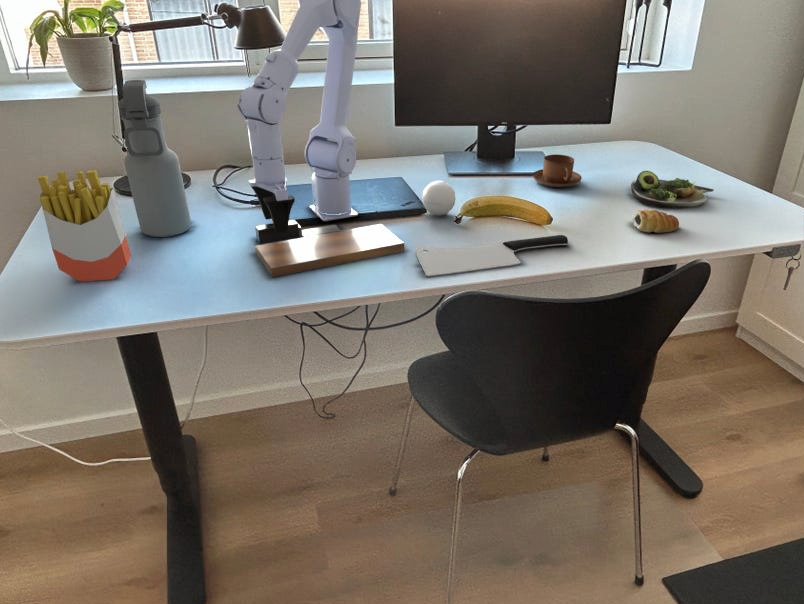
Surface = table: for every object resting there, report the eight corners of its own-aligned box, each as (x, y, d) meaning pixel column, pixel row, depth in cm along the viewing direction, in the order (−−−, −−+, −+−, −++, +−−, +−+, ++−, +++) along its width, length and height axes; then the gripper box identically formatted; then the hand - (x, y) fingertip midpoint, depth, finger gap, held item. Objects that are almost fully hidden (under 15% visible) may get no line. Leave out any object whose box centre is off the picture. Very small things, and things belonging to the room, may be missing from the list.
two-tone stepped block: (256, 239, 131) (254, 226, 130) (335, 225, 138) (334, 213, 137) (261, 245, 129) (259, 232, 127) (341, 231, 136) (340, 218, 134)
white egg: (447, 206, 149) (448, 174, 145) (460, 218, 143) (461, 184, 139) (405, 211, 146) (405, 179, 142) (417, 223, 140) (417, 190, 136)
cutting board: (256, 254, 125) (254, 245, 124) (381, 231, 136) (381, 223, 135) (272, 277, 117) (271, 268, 116) (404, 251, 128) (404, 242, 127)
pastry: (671, 222, 144) (675, 205, 142) (683, 234, 138) (687, 217, 136) (629, 222, 143) (632, 205, 141) (639, 235, 138) (643, 217, 136)
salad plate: (703, 186, 165) (707, 167, 163) (723, 211, 150) (728, 191, 148) (625, 182, 166) (628, 164, 164) (638, 207, 151) (641, 188, 149)
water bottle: (191, 236, 132) (161, 88, 116) (139, 241, 129) (100, 90, 114) (192, 218, 140) (164, 77, 124) (143, 222, 137) (108, 79, 122)
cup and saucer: (590, 186, 163) (594, 161, 160) (554, 194, 158) (557, 168, 154) (558, 173, 172) (560, 149, 168) (522, 180, 166) (524, 156, 162)
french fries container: (129, 279, 116) (102, 177, 106) (62, 283, 113) (28, 180, 104) (134, 267, 119) (108, 169, 109) (69, 272, 117) (37, 172, 107)
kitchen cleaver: (426, 272, 118) (412, 244, 125) (426, 280, 119) (412, 252, 126) (582, 254, 126) (560, 229, 134) (581, 262, 127) (559, 237, 135)
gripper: (236, 148, 127) (246, 215, 134) (256, 169, 116) (266, 241, 124) (272, 144, 130) (280, 210, 137) (295, 164, 119) (302, 234, 126)
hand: (276, 224), depth 131 cm, fingers open, 7 cm apart
